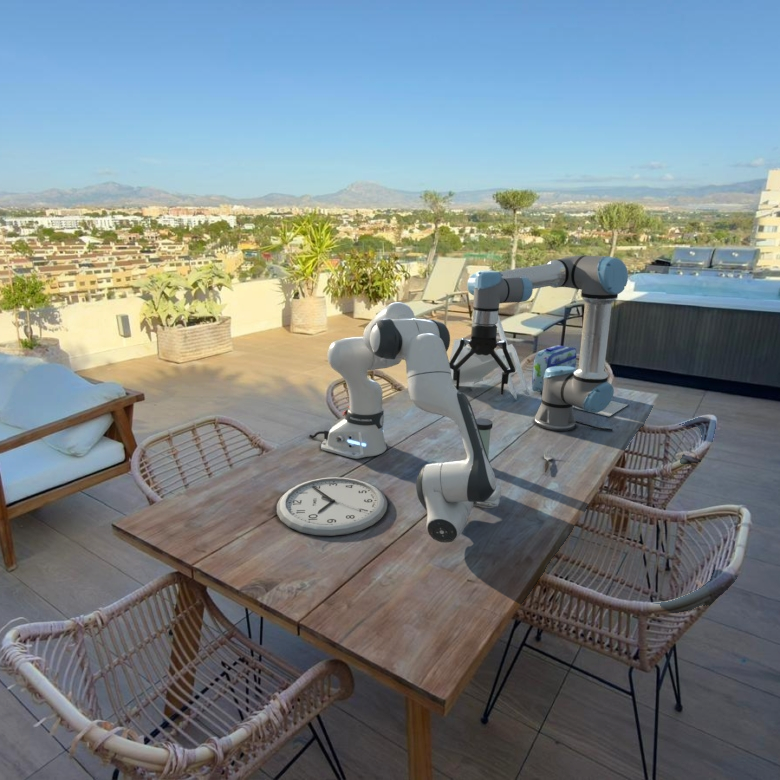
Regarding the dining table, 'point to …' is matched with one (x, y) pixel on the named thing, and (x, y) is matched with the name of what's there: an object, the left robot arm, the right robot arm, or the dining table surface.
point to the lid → (484, 424)
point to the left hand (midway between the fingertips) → (467, 477)
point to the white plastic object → (487, 364)
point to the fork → (547, 459)
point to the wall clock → (331, 506)
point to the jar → (485, 439)
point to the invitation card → (610, 408)
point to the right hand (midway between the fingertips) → (479, 392)
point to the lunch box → (551, 363)
